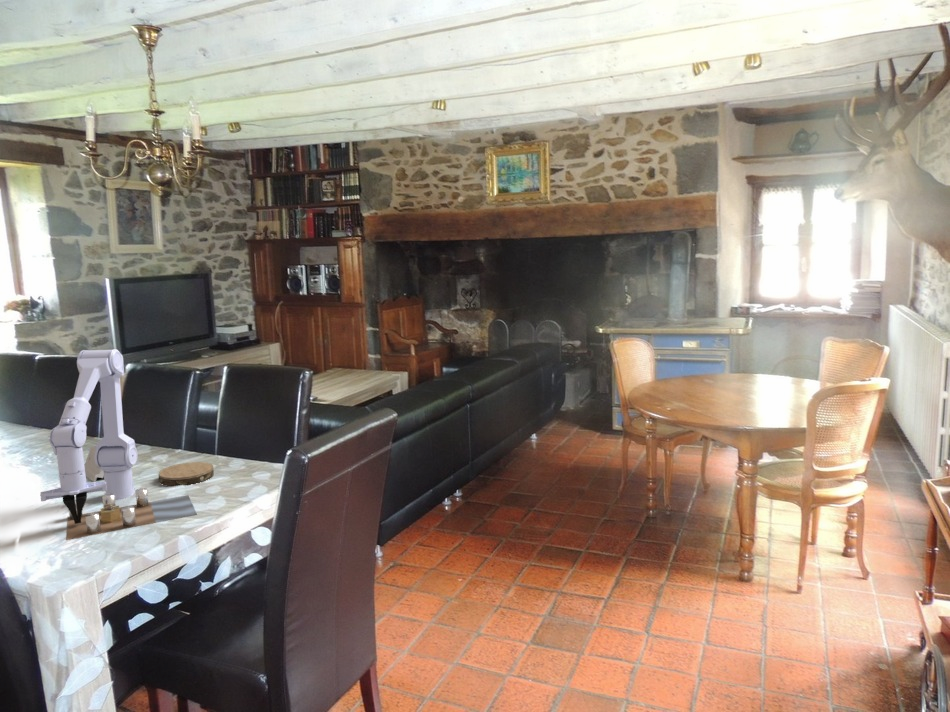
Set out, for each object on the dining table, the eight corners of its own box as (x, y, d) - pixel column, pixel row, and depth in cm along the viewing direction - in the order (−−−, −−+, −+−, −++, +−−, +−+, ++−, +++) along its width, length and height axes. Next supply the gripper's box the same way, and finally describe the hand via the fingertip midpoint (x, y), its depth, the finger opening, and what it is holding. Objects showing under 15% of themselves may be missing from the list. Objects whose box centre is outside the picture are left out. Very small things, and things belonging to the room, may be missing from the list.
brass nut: (101, 518, 180) (100, 507, 179) (119, 514, 182) (118, 504, 182) (101, 524, 176) (100, 513, 175) (120, 521, 178) (119, 509, 177)
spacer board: (68, 519, 182) (67, 516, 182) (188, 497, 196) (188, 495, 196) (66, 543, 166) (66, 540, 166) (197, 517, 181) (197, 514, 181)
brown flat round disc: (148, 483, 211) (147, 473, 211) (190, 468, 225) (189, 459, 225) (183, 490, 204) (182, 480, 204) (224, 474, 218) (224, 465, 217)
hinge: (79, 471, 225) (87, 441, 226) (94, 472, 228) (102, 443, 229) (94, 482, 213) (102, 450, 214) (110, 483, 216) (118, 452, 217)
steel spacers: (69, 516, 181) (67, 500, 181) (148, 502, 191) (146, 487, 190) (68, 538, 167) (66, 521, 166) (153, 522, 176) (152, 505, 175)
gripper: (37, 480, 166) (43, 533, 168) (104, 470, 173) (110, 521, 175) (39, 472, 172) (45, 524, 174) (104, 463, 179) (109, 512, 181)
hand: (77, 522), depth 175 cm, fingers closed
